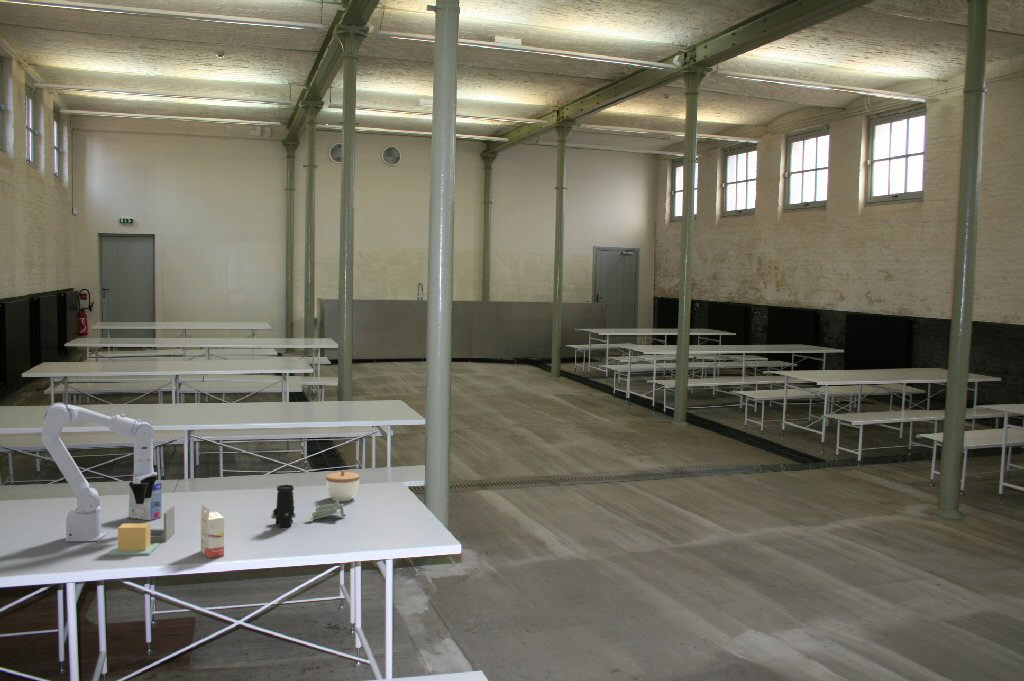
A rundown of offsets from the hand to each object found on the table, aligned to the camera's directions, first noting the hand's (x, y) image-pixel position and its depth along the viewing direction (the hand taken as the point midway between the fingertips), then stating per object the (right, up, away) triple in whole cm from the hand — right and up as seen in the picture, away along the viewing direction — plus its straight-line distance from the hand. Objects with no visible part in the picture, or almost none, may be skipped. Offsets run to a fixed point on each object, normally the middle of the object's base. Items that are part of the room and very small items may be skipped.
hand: (143, 500), depth 275 cm
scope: (+43, -11, +12) cm, 46 cm away
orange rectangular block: (+5, -11, -18) cm, 22 cm away
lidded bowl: (+55, -9, +50) cm, 75 cm away
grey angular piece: (+3, -11, -5) cm, 12 cm away
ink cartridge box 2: (+29, -13, -19) cm, 37 cm away
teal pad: (+5, -12, -18) cm, 22 cm away
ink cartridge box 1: (-7, -9, +18) cm, 21 cm away
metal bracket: (+54, -11, +23) cm, 60 cm away
